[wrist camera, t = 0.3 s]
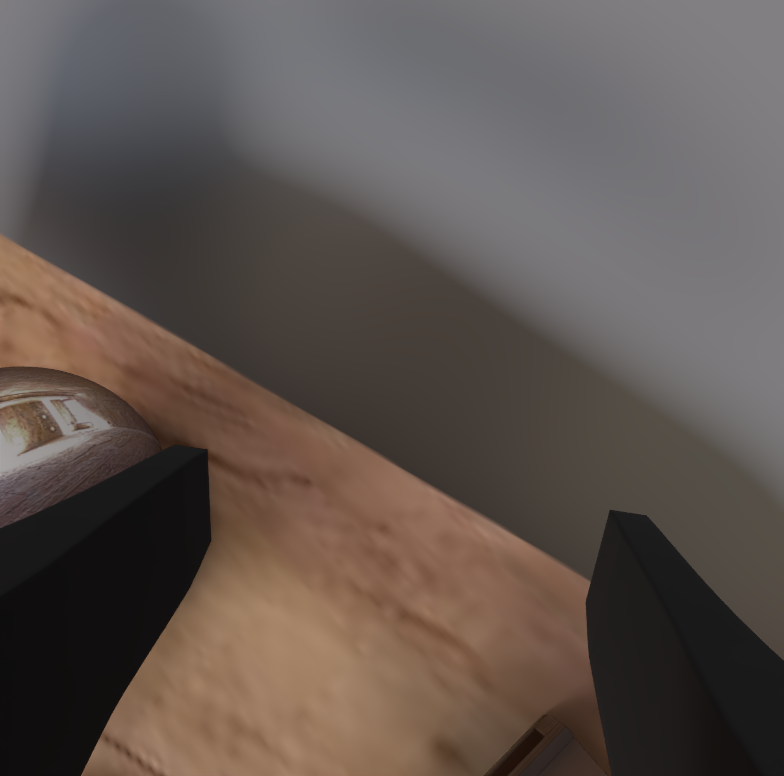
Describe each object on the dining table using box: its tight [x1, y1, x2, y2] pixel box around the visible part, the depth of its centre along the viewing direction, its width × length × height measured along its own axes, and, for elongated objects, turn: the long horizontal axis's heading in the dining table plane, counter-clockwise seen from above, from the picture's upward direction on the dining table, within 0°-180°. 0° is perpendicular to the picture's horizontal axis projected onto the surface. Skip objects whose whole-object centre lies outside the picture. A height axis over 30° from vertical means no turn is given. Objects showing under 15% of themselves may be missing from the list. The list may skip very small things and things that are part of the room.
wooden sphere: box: [0, 367, 163, 528], centre depth 36 cm, size 15×15×15 cm
